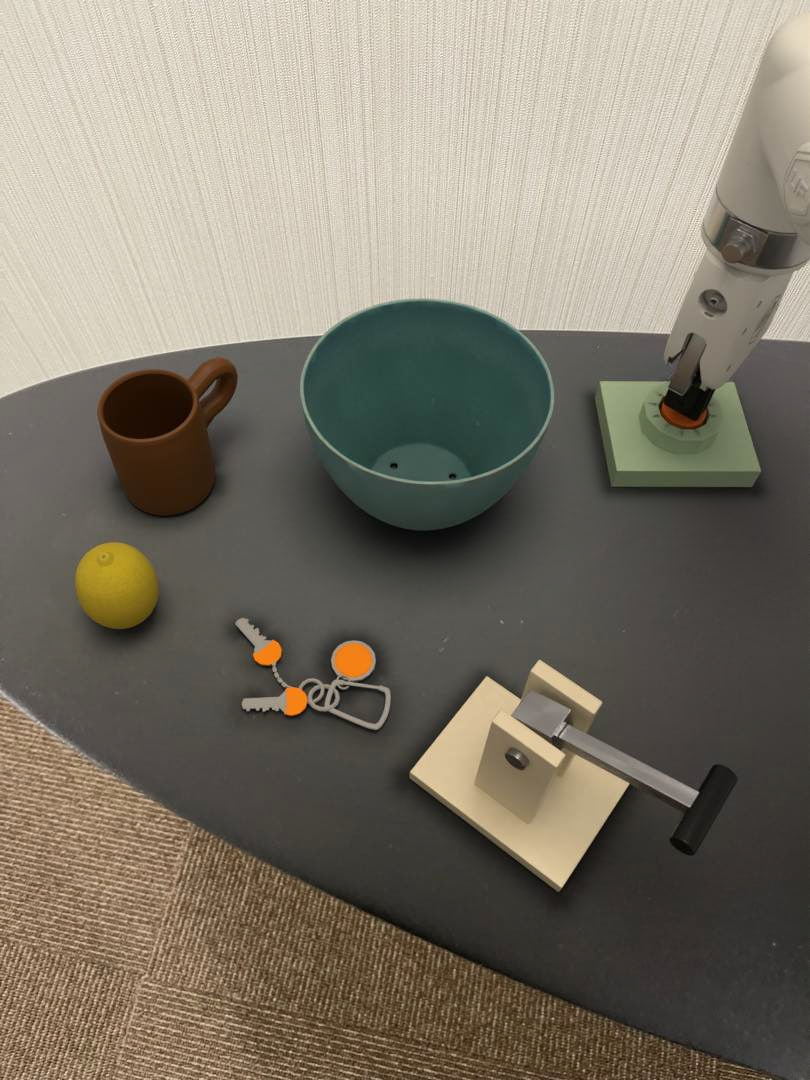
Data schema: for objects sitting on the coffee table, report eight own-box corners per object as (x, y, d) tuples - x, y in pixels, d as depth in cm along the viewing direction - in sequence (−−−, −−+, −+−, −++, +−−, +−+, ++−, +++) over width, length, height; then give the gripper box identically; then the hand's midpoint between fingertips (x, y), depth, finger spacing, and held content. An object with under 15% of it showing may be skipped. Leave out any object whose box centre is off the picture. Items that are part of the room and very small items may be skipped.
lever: (736, 790, 49) (739, 767, 48) (694, 864, 47) (695, 843, 45) (547, 694, 56) (543, 671, 54) (501, 755, 54) (496, 733, 52)
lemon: (95, 585, 69) (65, 525, 62) (169, 579, 69) (147, 519, 63) (89, 650, 66) (57, 594, 59) (166, 644, 66) (143, 588, 60)
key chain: (405, 654, 66) (406, 649, 66) (379, 746, 62) (379, 742, 62) (240, 613, 68) (239, 608, 67) (204, 701, 64) (202, 696, 63)
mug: (214, 404, 80) (197, 322, 72) (275, 450, 77) (264, 370, 69) (104, 483, 74) (73, 405, 66) (165, 536, 72) (140, 461, 64)
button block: (726, 398, 82) (741, 367, 79) (752, 487, 76) (769, 457, 73) (594, 398, 81) (603, 366, 78) (610, 486, 76) (621, 456, 73)
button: (695, 406, 78) (701, 392, 76) (703, 439, 76) (710, 425, 74) (654, 406, 78) (659, 392, 76) (661, 438, 76) (667, 425, 74)
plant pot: (289, 425, 78) (278, 317, 68) (489, 388, 82) (506, 280, 71) (336, 602, 69) (331, 507, 59) (561, 553, 72) (592, 455, 62)
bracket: (629, 783, 62) (678, 715, 52) (558, 892, 58) (597, 840, 48) (484, 682, 66) (505, 600, 56) (408, 778, 61) (416, 707, 52)
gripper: (767, 305, 56) (681, 486, 71) (860, 190, 62) (763, 377, 78) (659, 253, 58) (598, 439, 73) (761, 148, 65) (686, 338, 80)
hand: (684, 407), depth 75 cm, fingers closed
